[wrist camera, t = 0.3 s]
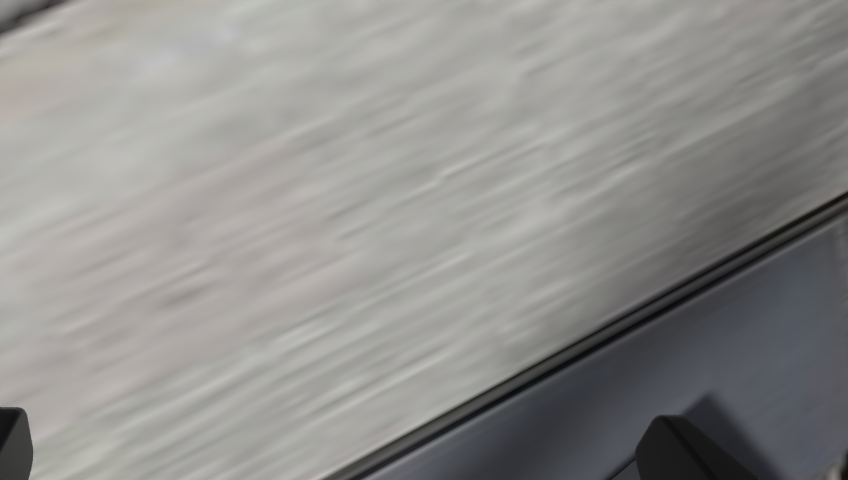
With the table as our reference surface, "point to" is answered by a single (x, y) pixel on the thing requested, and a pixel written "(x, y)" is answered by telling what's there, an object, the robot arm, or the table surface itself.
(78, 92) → the table surface
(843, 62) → the table surface
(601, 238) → the table surface
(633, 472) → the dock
